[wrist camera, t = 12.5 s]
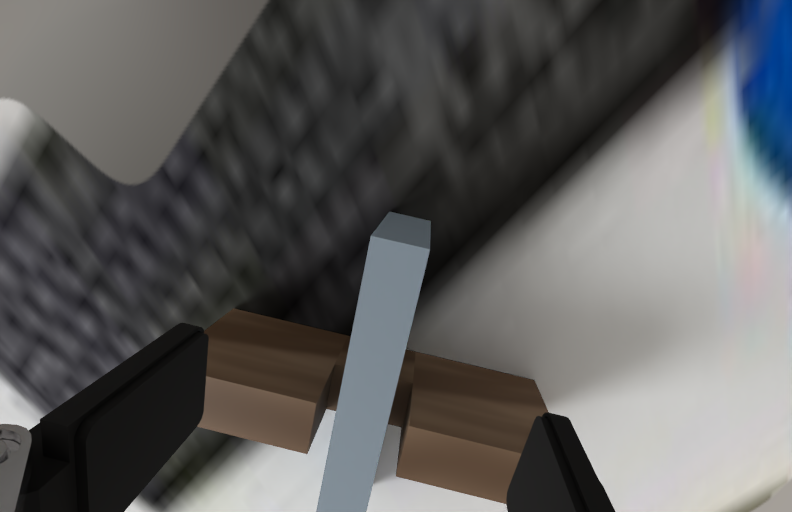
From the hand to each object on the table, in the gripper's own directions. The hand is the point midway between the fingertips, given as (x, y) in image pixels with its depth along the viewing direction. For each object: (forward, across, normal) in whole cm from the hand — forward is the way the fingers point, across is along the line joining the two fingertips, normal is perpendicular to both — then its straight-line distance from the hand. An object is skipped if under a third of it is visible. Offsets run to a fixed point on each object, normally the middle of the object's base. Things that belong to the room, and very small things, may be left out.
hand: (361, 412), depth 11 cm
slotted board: (+13, 0, +7) cm, 15 cm away
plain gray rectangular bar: (+13, 0, +7) cm, 15 cm away
